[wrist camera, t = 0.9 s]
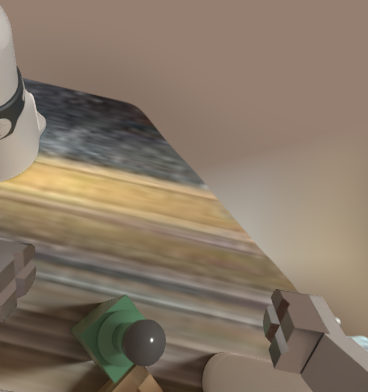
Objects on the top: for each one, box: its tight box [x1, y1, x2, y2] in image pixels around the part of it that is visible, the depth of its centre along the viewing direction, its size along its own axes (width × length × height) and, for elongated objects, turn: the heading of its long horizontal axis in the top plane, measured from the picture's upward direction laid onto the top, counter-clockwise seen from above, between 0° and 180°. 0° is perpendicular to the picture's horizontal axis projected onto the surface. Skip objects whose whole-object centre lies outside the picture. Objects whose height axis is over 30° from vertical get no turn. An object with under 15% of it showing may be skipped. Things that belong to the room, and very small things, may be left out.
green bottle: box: [70, 295, 166, 383], centre depth 29 cm, size 5×5×24 cm
